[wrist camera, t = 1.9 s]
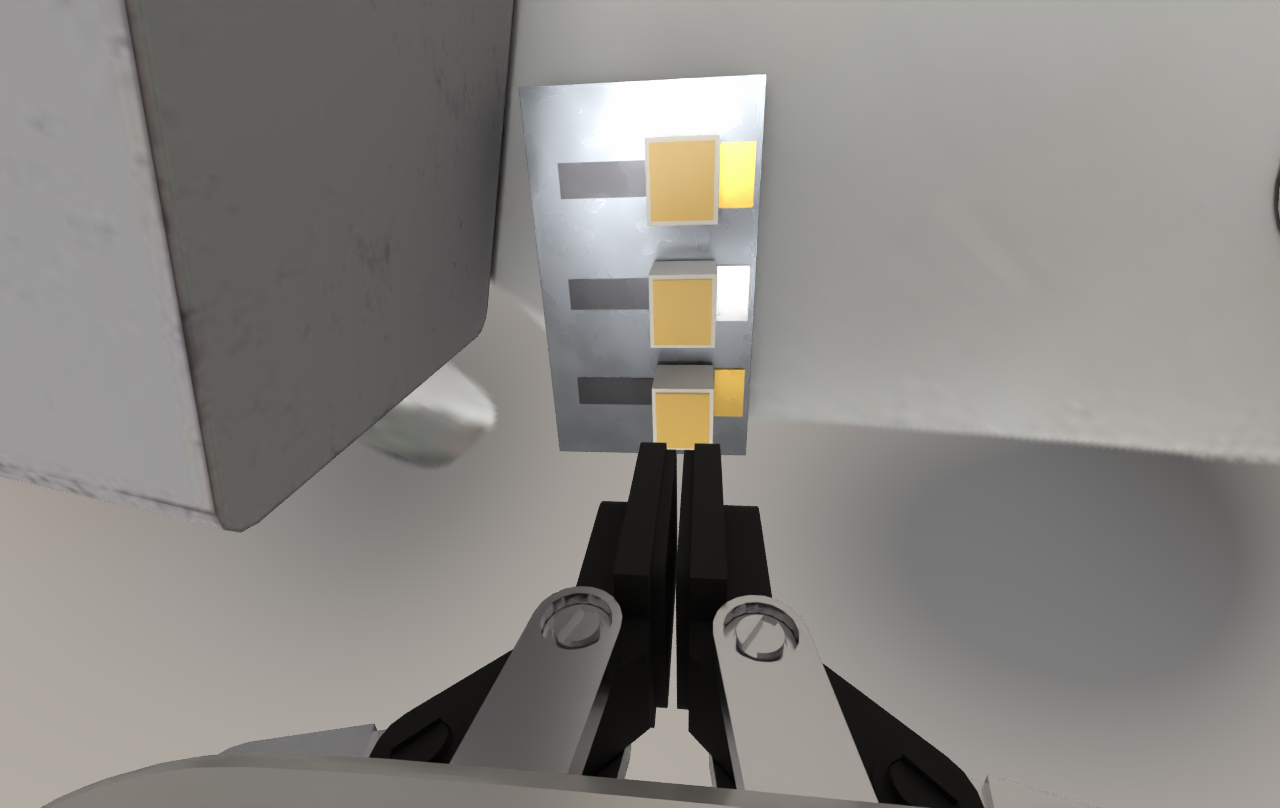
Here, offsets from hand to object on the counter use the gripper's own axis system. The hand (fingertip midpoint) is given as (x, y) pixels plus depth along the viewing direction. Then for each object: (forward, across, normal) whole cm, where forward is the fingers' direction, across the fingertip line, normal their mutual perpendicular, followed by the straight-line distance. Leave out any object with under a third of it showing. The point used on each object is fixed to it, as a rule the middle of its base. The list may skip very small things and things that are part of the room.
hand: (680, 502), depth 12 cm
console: (+23, +2, 0) cm, 23 cm away
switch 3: (+18, 0, +6) cm, 19 cm away
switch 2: (+18, 0, 0) cm, 18 cm away
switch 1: (+18, 0, -6) cm, 19 cm away
